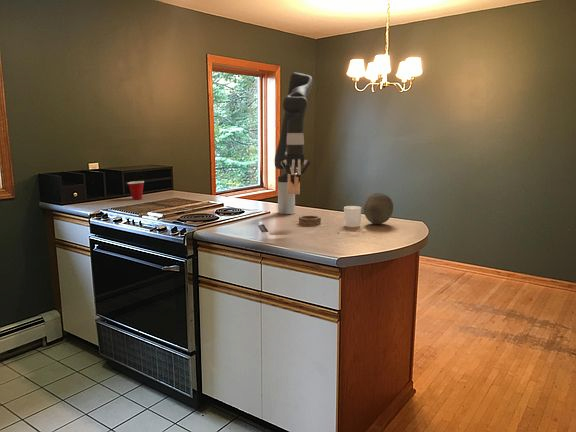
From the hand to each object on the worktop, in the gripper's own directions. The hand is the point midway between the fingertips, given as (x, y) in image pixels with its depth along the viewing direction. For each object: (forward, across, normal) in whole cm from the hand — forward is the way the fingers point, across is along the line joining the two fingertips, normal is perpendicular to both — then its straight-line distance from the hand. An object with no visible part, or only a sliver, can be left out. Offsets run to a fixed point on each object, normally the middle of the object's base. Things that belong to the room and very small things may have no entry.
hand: (295, 183), depth 204 cm
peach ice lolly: (+5, 0, -2) cm, 6 cm away
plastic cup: (+21, +82, -121) cm, 148 cm away
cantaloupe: (+21, -41, -3) cm, 46 cm away
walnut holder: (+21, -8, -5) cm, 23 cm away
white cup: (+21, -26, +4) cm, 34 cm away
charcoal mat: (+21, +9, -5) cm, 24 cm away
